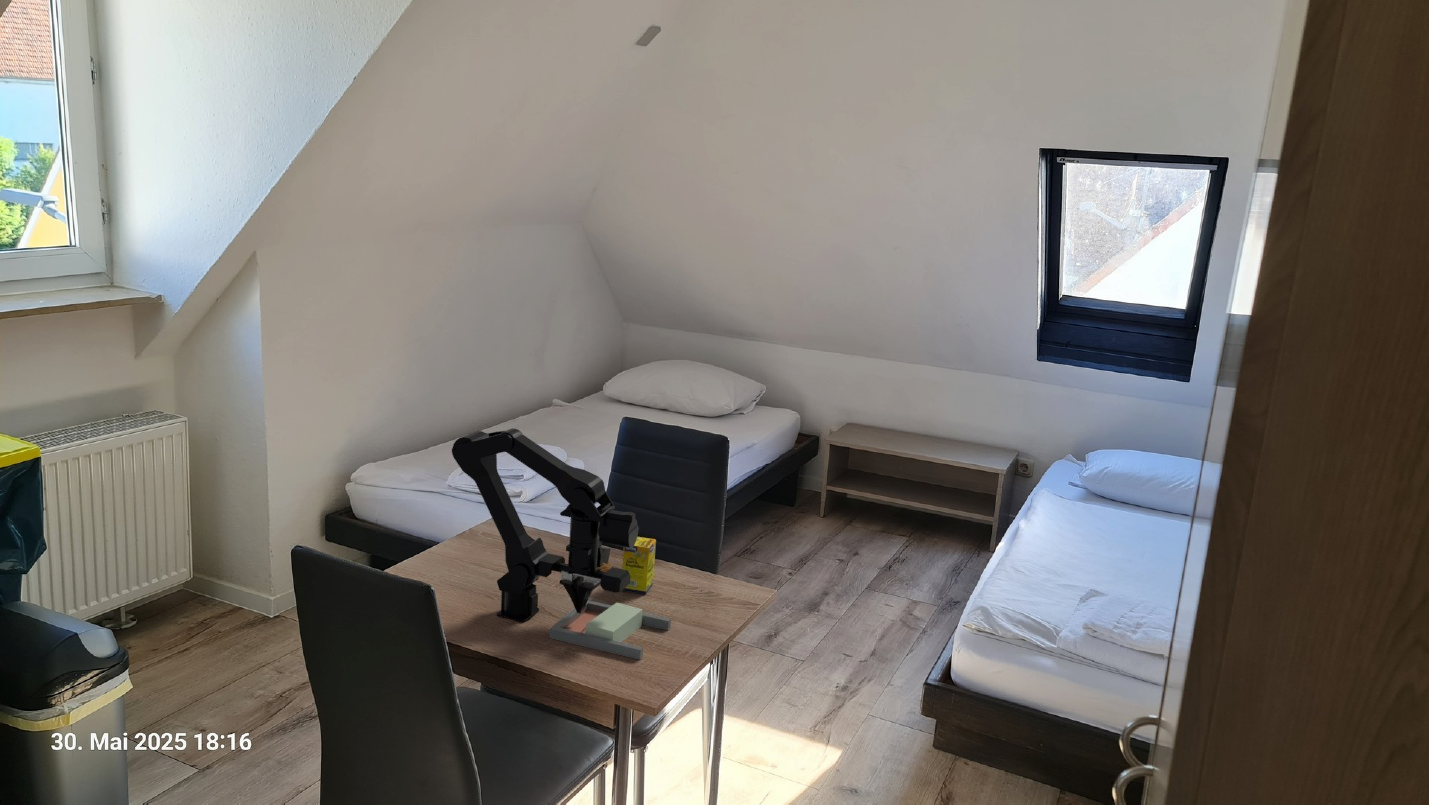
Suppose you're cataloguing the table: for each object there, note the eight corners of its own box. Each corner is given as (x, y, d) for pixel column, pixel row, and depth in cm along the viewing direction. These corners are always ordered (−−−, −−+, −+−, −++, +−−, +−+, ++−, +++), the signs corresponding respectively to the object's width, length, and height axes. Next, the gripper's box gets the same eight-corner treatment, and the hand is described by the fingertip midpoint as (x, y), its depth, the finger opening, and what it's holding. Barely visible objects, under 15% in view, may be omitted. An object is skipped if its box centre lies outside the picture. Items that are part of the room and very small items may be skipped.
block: (585, 643, 192) (586, 624, 191) (615, 620, 203) (616, 602, 202) (612, 651, 190) (613, 631, 189) (641, 627, 200) (642, 609, 200)
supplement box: (646, 595, 216) (649, 548, 213) (620, 591, 217) (623, 544, 214) (653, 585, 221) (656, 539, 219) (627, 581, 222) (630, 535, 220)
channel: (549, 638, 192) (549, 628, 192) (584, 608, 206) (585, 599, 206) (640, 660, 186) (640, 650, 186) (670, 628, 200) (670, 619, 200)
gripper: (643, 535, 199) (638, 607, 202) (561, 518, 205) (557, 589, 208) (620, 553, 189) (616, 628, 192) (534, 535, 194) (531, 608, 198)
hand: (580, 612), depth 198 cm, fingers closed
